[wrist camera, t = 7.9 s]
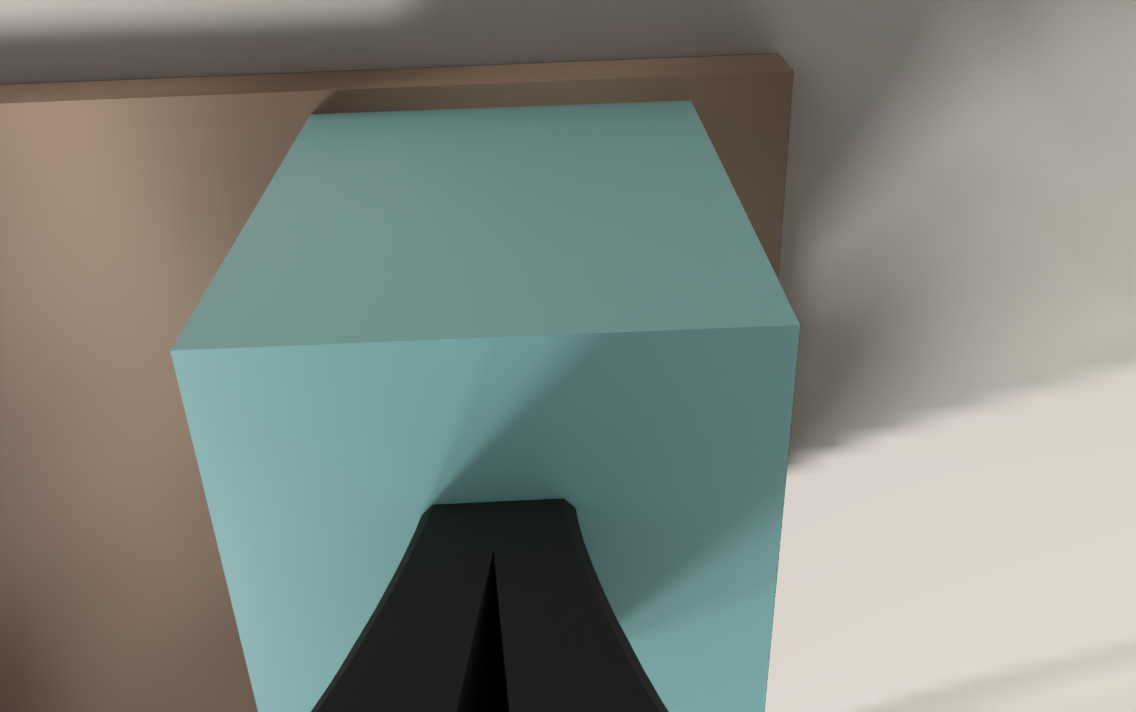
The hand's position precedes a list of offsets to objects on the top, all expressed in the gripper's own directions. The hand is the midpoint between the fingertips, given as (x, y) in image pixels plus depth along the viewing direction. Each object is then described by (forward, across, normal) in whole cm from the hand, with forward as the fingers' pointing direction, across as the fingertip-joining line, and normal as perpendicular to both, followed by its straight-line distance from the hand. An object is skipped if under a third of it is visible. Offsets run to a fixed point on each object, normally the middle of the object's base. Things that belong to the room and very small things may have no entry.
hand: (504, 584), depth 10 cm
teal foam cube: (+7, 0, 0) cm, 7 cm away
